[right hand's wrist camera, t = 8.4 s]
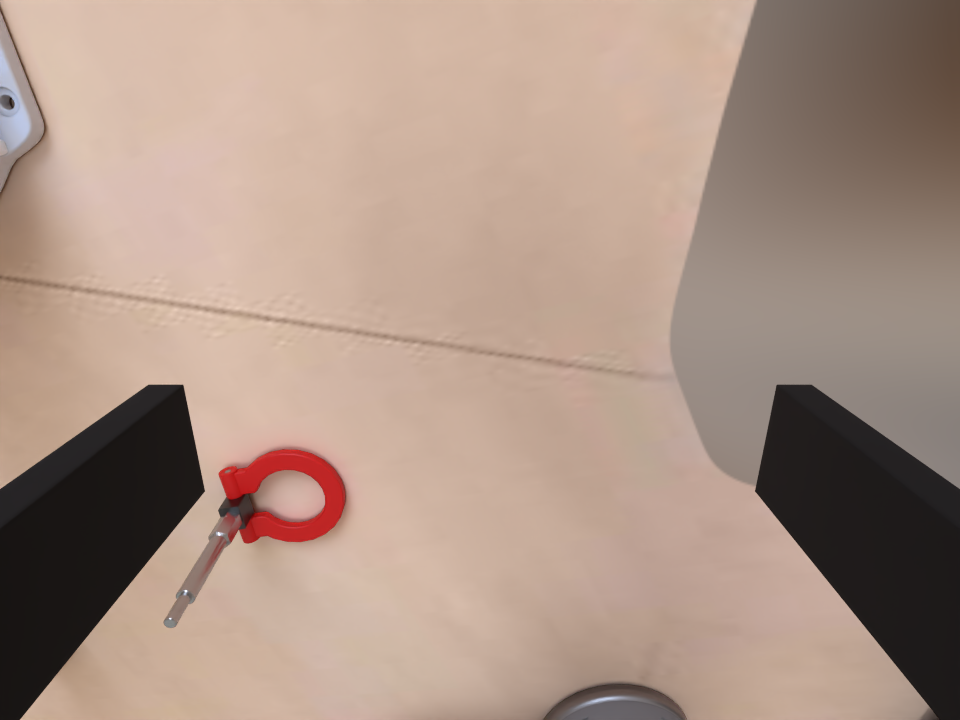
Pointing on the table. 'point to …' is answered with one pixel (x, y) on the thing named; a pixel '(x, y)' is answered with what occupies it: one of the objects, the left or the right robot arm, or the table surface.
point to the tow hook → (260, 515)
